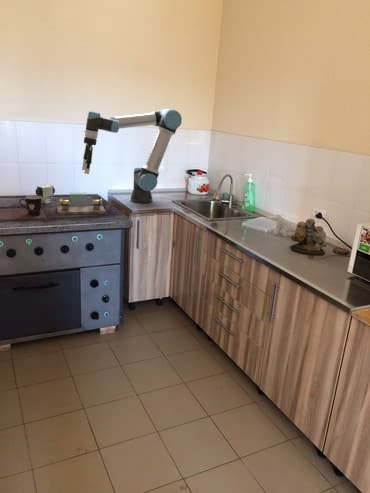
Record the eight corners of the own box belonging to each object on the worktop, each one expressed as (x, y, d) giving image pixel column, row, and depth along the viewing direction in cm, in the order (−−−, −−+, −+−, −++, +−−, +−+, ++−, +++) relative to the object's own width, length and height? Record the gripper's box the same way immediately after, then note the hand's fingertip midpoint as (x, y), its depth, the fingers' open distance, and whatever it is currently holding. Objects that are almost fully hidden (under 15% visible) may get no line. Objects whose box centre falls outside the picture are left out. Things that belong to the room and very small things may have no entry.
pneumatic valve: (55, 202, 274) (55, 184, 270) (40, 205, 265) (39, 186, 261) (50, 200, 277) (49, 182, 273) (34, 203, 267) (34, 184, 264)
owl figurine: (288, 253, 209) (293, 219, 204) (287, 246, 220) (292, 214, 215) (326, 257, 206) (332, 223, 200) (323, 250, 217) (329, 218, 212)
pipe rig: (101, 207, 262) (101, 198, 260) (102, 209, 258) (102, 199, 256) (59, 208, 254) (59, 198, 252) (60, 210, 250) (59, 200, 248)
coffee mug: (45, 214, 246) (44, 197, 242) (34, 217, 238) (33, 199, 235) (30, 210, 250) (29, 194, 247) (18, 213, 242) (17, 196, 239)
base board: (102, 208, 267) (102, 206, 267) (105, 213, 256) (105, 211, 255) (56, 209, 258) (56, 206, 257) (57, 214, 246) (57, 212, 246)
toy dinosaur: (263, 228, 244) (268, 210, 240) (305, 240, 236) (310, 221, 232) (260, 231, 238) (265, 212, 235) (302, 243, 230) (308, 224, 226)
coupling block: (86, 204, 274) (86, 192, 272) (87, 206, 270) (87, 194, 267) (69, 204, 271) (69, 192, 268) (70, 206, 266) (69, 194, 264)
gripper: (82, 134, 268) (77, 167, 274) (87, 138, 246) (81, 174, 252) (94, 136, 271) (88, 169, 277) (99, 141, 249) (94, 176, 255)
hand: (85, 171), depth 264 cm, fingers open, 13 cm apart
